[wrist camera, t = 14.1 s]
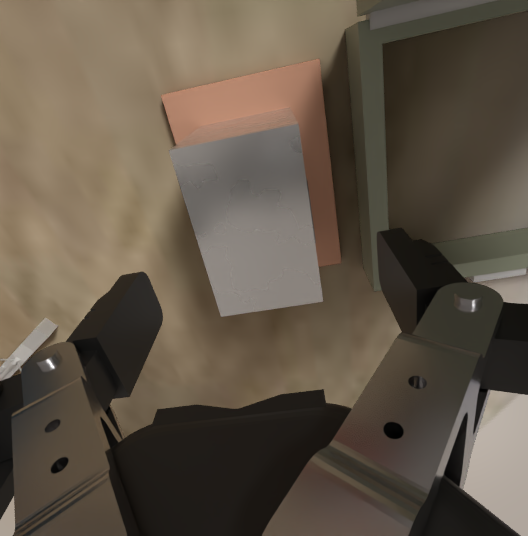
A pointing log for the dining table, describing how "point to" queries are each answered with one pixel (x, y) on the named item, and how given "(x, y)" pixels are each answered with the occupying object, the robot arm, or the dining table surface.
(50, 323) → the crossbow
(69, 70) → the dining table surface
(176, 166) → the block
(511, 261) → the equipment case
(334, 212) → the rust mat
